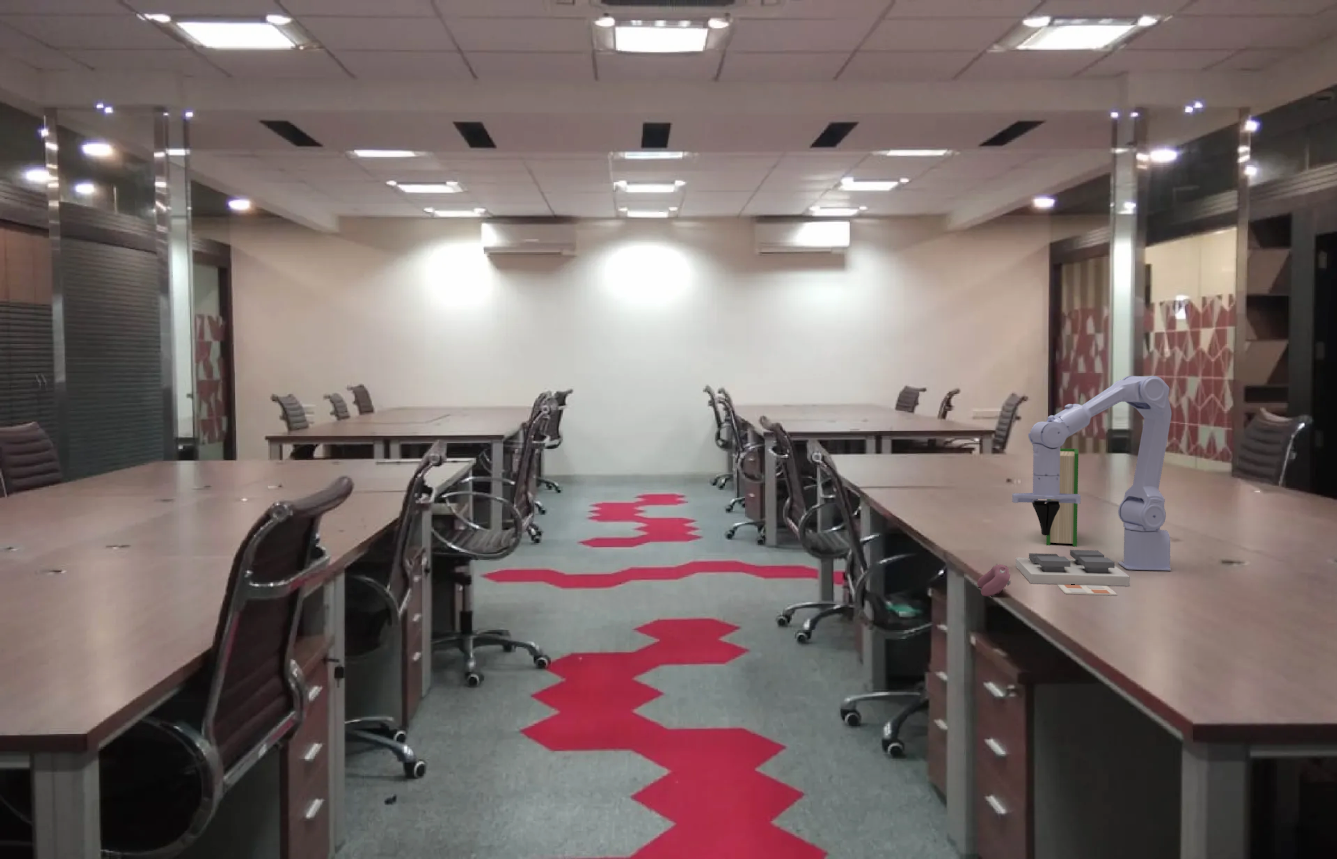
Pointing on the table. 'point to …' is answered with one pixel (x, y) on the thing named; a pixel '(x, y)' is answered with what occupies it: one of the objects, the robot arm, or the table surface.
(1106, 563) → the button
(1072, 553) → the button
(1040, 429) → the robot arm
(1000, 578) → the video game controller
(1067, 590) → the pattern card
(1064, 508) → the hardback book
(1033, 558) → the button
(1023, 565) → the button board
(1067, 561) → the button
